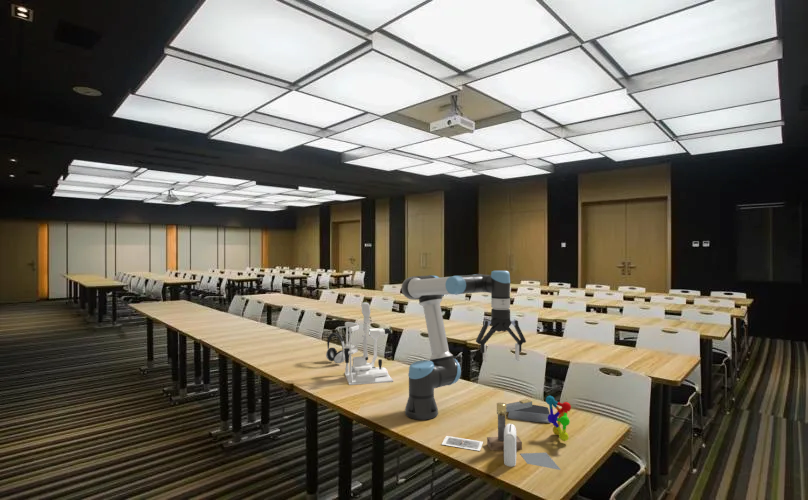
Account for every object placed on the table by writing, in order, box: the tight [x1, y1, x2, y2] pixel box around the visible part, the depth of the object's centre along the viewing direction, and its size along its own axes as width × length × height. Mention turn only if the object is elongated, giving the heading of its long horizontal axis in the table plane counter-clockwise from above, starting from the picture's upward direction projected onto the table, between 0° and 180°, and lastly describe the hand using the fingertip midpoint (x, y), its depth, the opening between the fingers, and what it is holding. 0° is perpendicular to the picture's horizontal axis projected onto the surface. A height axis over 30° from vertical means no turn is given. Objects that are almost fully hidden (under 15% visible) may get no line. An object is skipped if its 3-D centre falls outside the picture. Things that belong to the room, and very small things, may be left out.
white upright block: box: [503, 423, 517, 468], centre depth 148 cm, size 10×4×12 cm, turn 163°
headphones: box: [325, 332, 345, 364], centre depth 280 cm, size 19×8×20 cm, turn 44°
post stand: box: [486, 414, 523, 451], centre depth 158 cm, size 12×5×13 cm, turn 94°
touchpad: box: [441, 435, 484, 452], centre depth 160 cm, size 8×15×2 cm, turn 69°
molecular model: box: [545, 395, 572, 442], centre depth 165 cm, size 15×10×15 cm, turn 5°
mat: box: [520, 452, 562, 471], centre depth 145 cm, size 10×14×1 cm
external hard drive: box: [507, 404, 551, 424], centre depth 188 cm, size 12×18×4 cm
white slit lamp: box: [344, 302, 394, 386], centre depth 246 cm, size 24×27×45 cm
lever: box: [496, 398, 533, 416], centre depth 160 cm, size 16×4×4 cm, turn 114°
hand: (501, 360), depth 168 cm, fingers open, 13 cm apart
